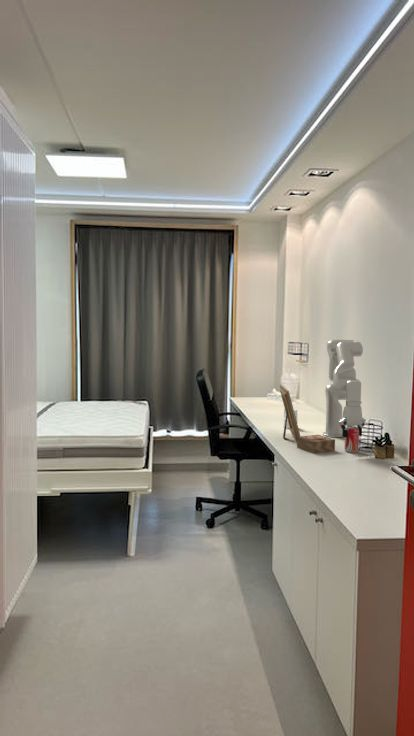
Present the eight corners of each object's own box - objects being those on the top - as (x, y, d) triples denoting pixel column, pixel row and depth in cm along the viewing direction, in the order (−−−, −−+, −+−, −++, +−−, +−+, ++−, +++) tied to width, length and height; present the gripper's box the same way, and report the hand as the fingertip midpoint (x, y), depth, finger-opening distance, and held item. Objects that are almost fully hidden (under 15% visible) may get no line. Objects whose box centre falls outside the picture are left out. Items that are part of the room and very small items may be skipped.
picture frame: (302, 445, 293) (303, 391, 291) (284, 444, 294) (285, 390, 291) (294, 433, 326) (295, 384, 324) (277, 433, 326) (278, 384, 324)
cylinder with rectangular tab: (299, 427, 344) (300, 409, 343) (292, 429, 338) (292, 410, 337) (288, 425, 350) (288, 407, 350) (280, 427, 344) (280, 409, 343)
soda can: (358, 450, 281) (359, 426, 280) (358, 453, 275) (359, 428, 274) (345, 449, 284) (345, 425, 283) (343, 452, 277) (344, 427, 276)
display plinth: (317, 445, 293) (318, 433, 292) (334, 450, 280) (335, 438, 280) (297, 447, 287) (297, 436, 286) (313, 453, 274) (313, 441, 274)
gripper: (360, 402, 285) (359, 433, 286) (335, 403, 277) (334, 436, 278) (370, 404, 278) (369, 436, 279) (345, 405, 270) (344, 439, 271)
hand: (352, 436), depth 278 cm, fingers open, 9 cm apart
